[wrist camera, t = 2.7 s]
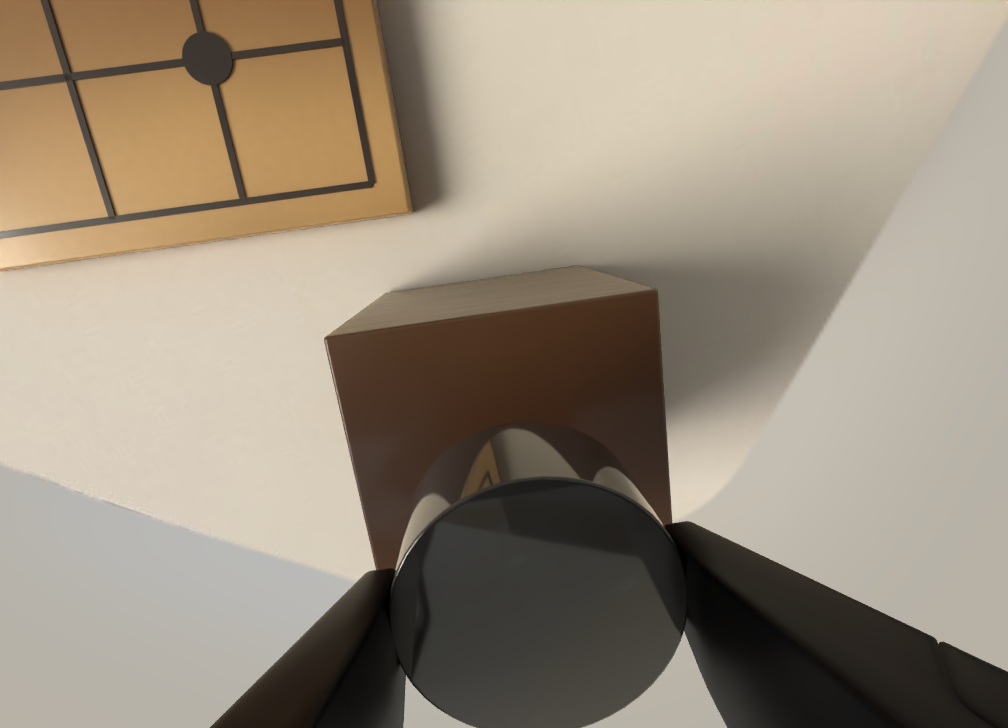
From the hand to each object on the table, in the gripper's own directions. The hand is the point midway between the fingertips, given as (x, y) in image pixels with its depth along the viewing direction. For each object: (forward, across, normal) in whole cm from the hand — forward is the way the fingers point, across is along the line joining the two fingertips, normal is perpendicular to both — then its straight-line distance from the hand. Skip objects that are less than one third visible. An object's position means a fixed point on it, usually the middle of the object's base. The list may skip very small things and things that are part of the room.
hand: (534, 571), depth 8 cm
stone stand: (+12, 0, 0) cm, 12 cm away
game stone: (+1, 0, 0) cm, 1 cm away
